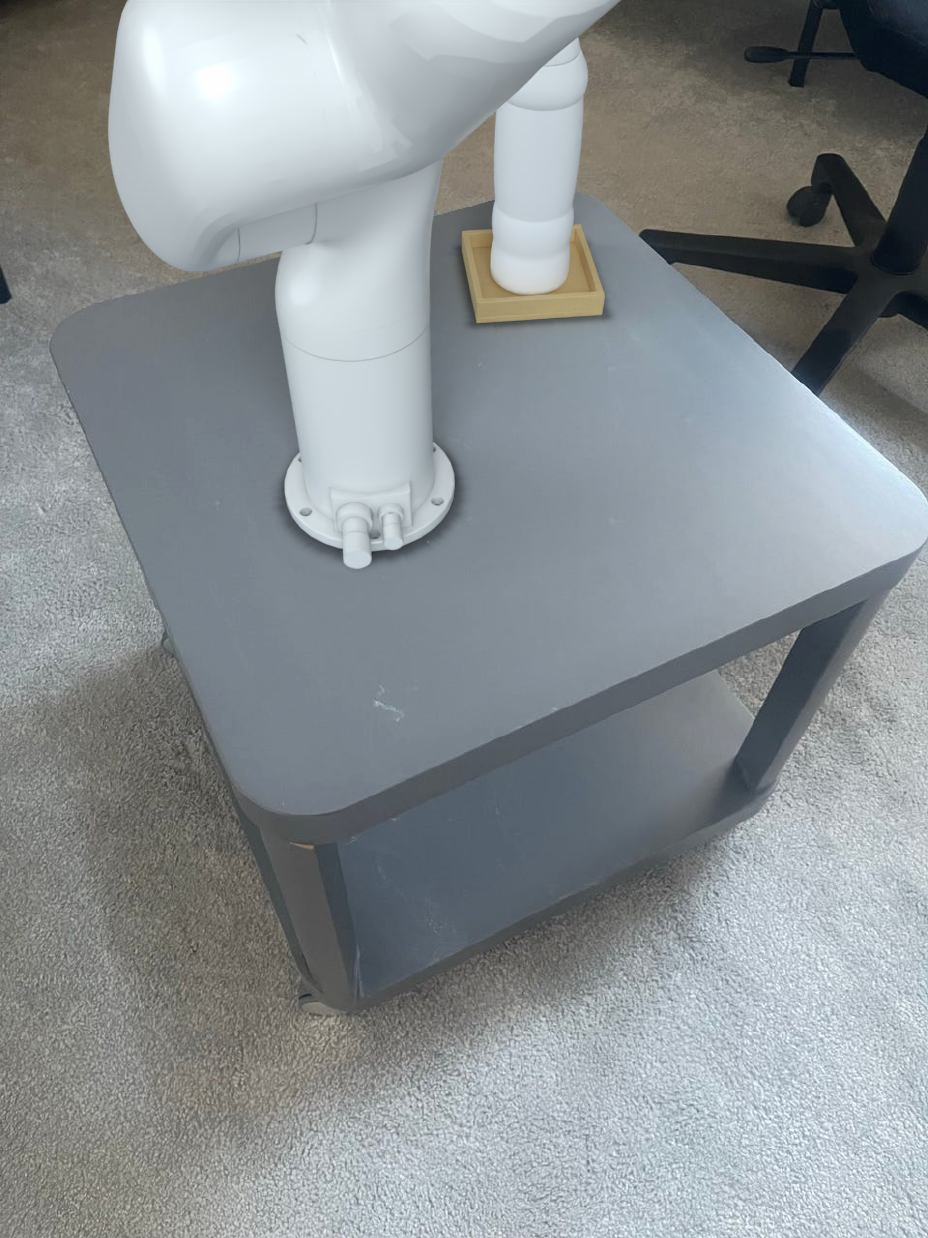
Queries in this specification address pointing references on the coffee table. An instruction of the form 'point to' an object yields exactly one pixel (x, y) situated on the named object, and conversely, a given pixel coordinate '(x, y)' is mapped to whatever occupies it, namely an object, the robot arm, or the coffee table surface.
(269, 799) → the coffee table surface
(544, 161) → the water bottle
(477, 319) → the tray
